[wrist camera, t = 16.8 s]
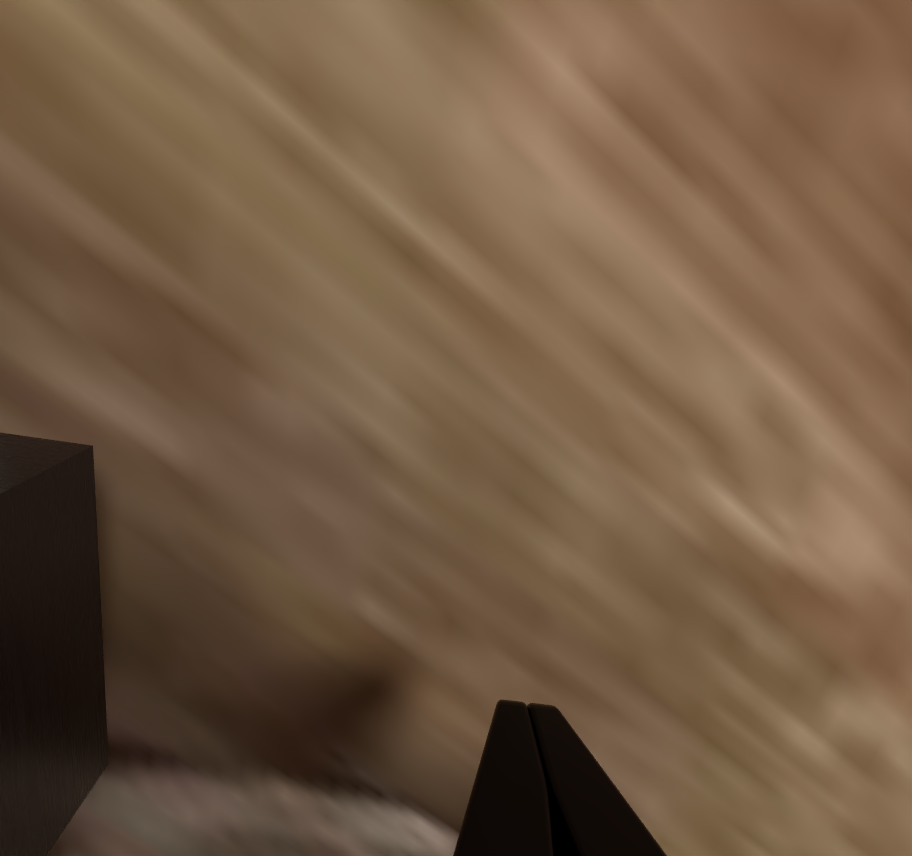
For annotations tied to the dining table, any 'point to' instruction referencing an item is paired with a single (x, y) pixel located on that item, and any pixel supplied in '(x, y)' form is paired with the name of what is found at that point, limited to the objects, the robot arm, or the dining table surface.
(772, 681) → the dining table surface
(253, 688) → the dining table surface
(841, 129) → the dining table surface
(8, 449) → the sliding jaw
